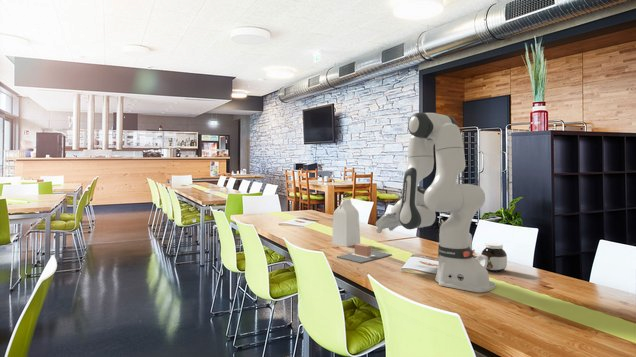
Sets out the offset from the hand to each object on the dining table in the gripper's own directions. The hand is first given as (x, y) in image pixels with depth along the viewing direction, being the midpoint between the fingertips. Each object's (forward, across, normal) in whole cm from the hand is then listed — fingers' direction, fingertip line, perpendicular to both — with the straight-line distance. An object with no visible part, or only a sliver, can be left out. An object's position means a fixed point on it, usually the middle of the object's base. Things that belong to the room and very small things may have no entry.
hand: (384, 230), depth 193 cm
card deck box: (+21, 0, +4) cm, 21 cm away
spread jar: (-19, +20, -41) cm, 49 cm away
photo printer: (-3, +39, -24) cm, 46 cm away
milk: (+39, +16, +18) cm, 46 cm away
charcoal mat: (+19, 0, -2) cm, 19 cm away
